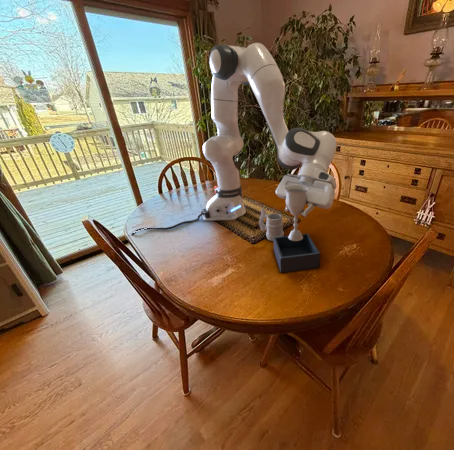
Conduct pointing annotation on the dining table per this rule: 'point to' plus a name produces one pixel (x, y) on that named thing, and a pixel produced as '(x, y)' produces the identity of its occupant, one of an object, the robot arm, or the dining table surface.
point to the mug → (272, 224)
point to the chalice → (296, 206)
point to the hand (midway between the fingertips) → (295, 213)
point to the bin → (296, 253)
